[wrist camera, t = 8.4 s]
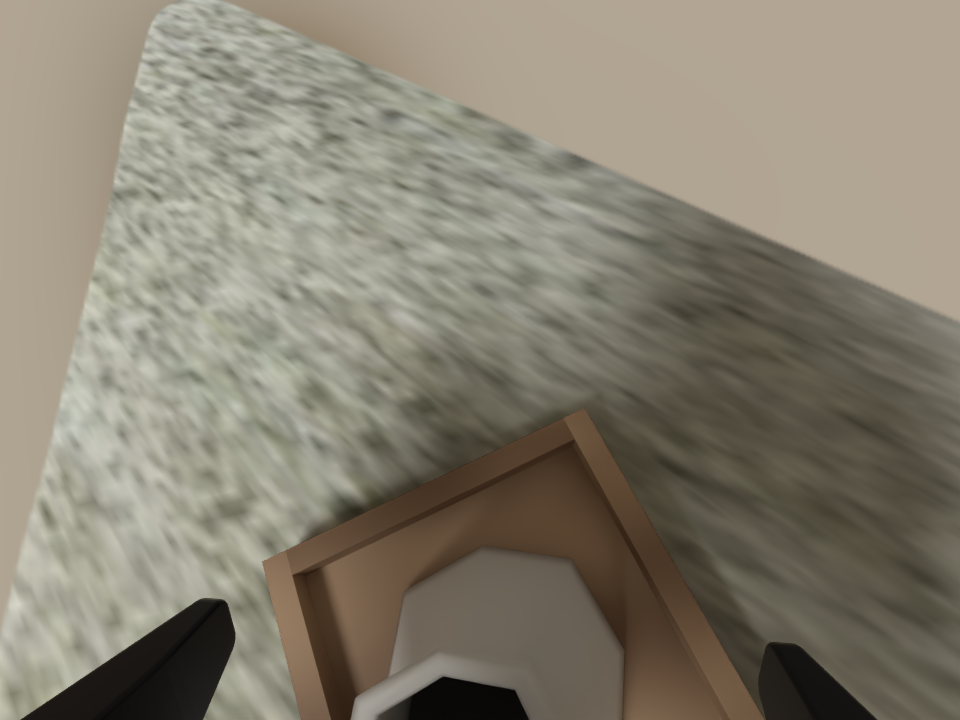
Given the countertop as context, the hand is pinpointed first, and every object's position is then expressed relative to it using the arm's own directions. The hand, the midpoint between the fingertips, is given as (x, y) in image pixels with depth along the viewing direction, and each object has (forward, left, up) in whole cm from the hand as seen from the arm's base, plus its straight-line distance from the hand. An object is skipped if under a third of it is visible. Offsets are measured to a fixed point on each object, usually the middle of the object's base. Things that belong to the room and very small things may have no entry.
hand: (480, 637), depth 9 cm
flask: (-1, +1, -8) cm, 9 cm away
